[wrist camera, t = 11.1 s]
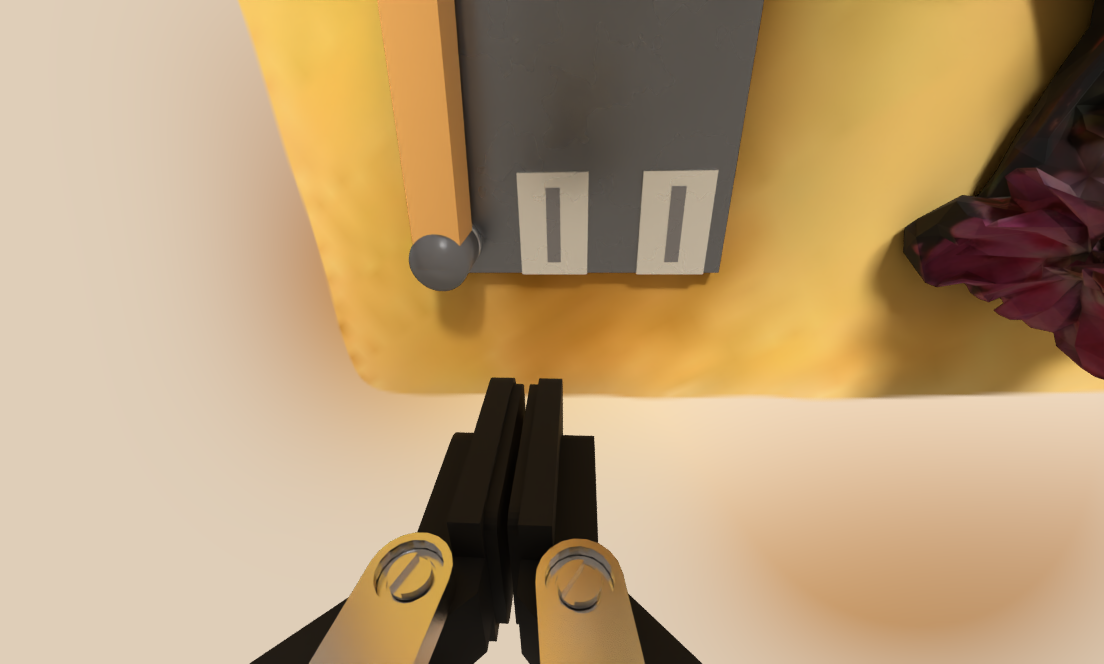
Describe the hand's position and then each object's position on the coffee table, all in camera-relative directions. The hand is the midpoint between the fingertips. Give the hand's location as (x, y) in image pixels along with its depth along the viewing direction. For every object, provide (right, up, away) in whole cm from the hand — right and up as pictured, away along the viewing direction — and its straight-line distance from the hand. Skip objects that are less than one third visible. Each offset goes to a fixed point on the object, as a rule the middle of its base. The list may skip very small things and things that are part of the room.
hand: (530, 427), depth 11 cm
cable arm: (-5, +14, +12) cm, 19 cm away
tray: (+2, +15, +13) cm, 20 cm away
